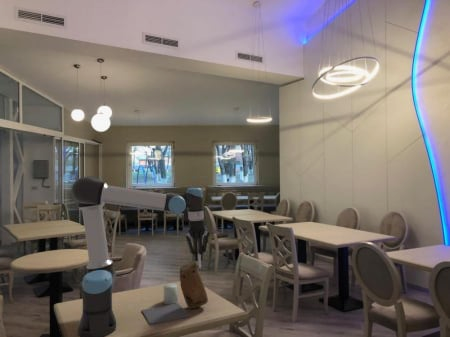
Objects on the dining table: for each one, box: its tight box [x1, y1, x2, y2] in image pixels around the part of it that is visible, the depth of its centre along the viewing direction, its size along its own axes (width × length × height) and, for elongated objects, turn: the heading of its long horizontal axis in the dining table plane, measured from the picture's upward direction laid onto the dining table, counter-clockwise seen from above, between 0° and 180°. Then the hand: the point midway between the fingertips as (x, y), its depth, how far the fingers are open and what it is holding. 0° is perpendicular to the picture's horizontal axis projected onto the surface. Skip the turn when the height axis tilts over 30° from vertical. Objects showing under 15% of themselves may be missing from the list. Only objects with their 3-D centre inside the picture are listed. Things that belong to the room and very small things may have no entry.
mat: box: [141, 302, 190, 326], centre depth 158 cm, size 18×16×1 cm
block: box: [179, 262, 209, 309], centre depth 164 cm, size 11×8×20 cm
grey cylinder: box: [163, 283, 179, 305], centre depth 173 cm, size 7×7×8 cm
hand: (199, 267), depth 166 cm, fingers closed
